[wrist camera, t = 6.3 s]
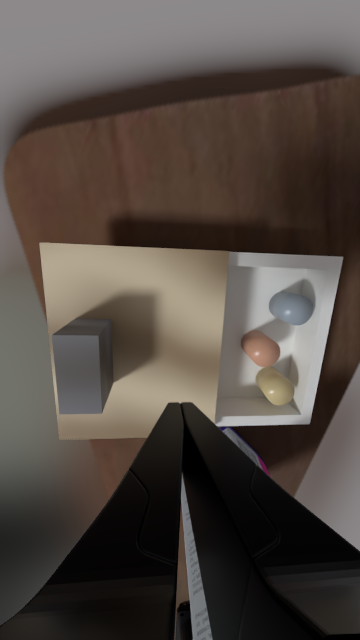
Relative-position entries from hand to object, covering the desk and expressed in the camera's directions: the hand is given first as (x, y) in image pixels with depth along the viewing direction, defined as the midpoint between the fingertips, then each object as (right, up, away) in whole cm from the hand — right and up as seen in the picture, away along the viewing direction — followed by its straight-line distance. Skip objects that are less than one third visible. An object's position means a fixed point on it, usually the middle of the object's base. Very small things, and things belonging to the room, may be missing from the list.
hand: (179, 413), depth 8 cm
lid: (-3, +2, +7) cm, 7 cm away
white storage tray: (+5, +2, +10) cm, 12 cm away
